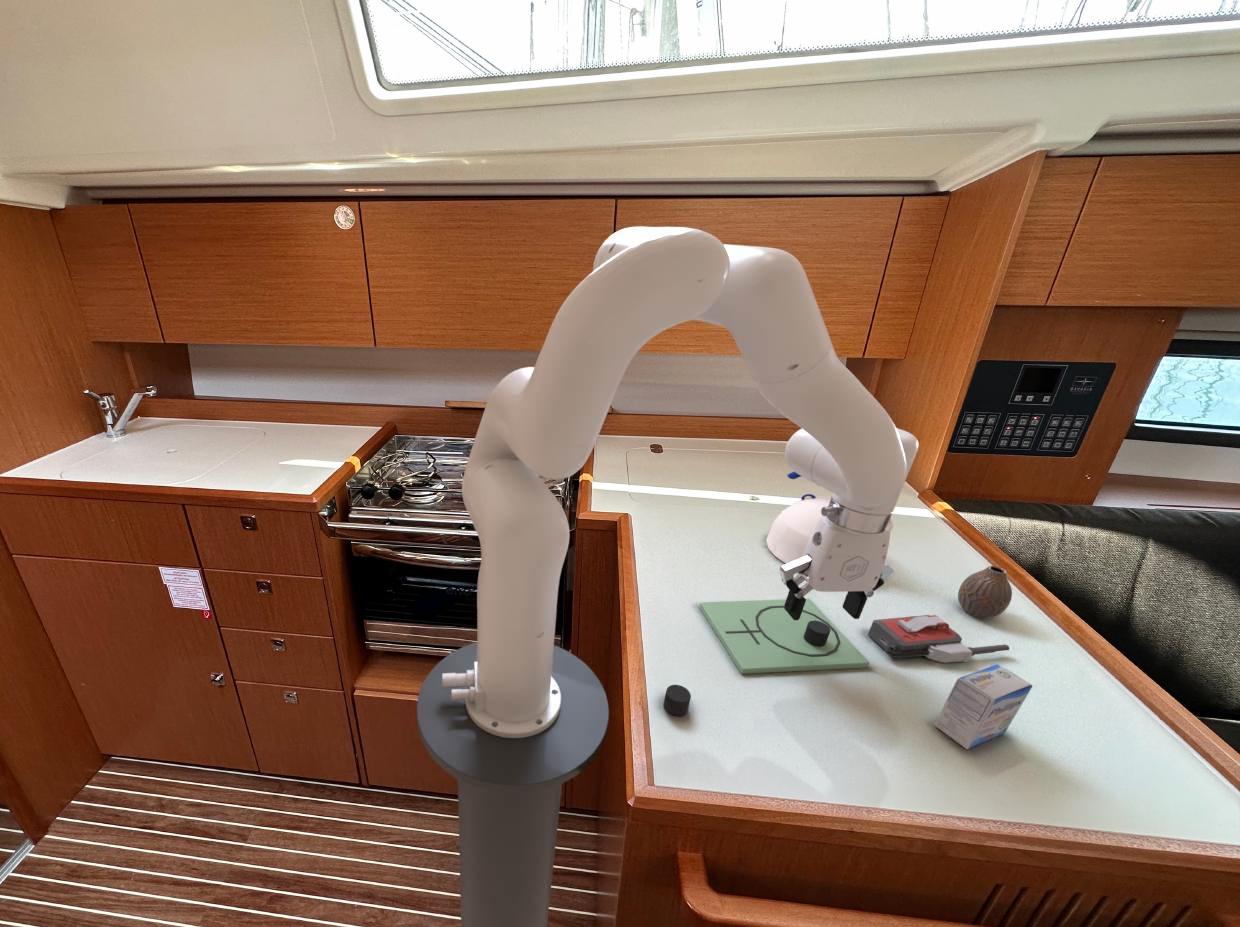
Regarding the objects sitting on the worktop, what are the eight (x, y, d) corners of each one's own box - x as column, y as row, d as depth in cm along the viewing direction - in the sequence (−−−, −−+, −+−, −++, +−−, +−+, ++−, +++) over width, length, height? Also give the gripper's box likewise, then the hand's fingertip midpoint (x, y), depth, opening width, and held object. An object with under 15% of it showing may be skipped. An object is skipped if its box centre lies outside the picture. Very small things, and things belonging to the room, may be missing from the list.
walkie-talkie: (898, 671, 83) (1010, 658, 87) (908, 648, 81) (1023, 636, 85) (857, 633, 91) (962, 623, 94) (866, 611, 89) (972, 602, 92)
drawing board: (741, 674, 82) (742, 668, 81) (698, 607, 96) (700, 602, 95) (867, 667, 84) (869, 662, 83) (808, 603, 98) (809, 598, 98)
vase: (1002, 629, 93) (1026, 585, 89) (953, 614, 97) (974, 572, 93) (998, 608, 99) (1020, 566, 95) (951, 595, 102) (970, 554, 98)
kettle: (850, 595, 101) (883, 506, 92) (746, 547, 115) (767, 466, 106) (893, 559, 112) (927, 477, 104) (794, 520, 126) (816, 444, 118)
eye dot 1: (668, 717, 74) (671, 703, 73) (660, 699, 77) (663, 685, 76) (691, 716, 74) (694, 701, 73) (682, 697, 77) (685, 683, 76)
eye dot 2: (810, 647, 86) (815, 634, 85) (799, 633, 89) (803, 620, 88) (830, 646, 86) (834, 633, 85) (818, 633, 89) (822, 620, 88)
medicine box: (966, 751, 71) (995, 701, 67) (932, 725, 74) (957, 676, 70) (1005, 734, 73) (1035, 685, 70) (970, 709, 77) (996, 661, 73)
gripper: (815, 528, 73) (780, 631, 81) (934, 527, 75) (889, 628, 83) (785, 502, 80) (755, 600, 87) (895, 503, 82) (857, 598, 90)
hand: (820, 614), depth 85 cm, fingers open, 9 cm apart
